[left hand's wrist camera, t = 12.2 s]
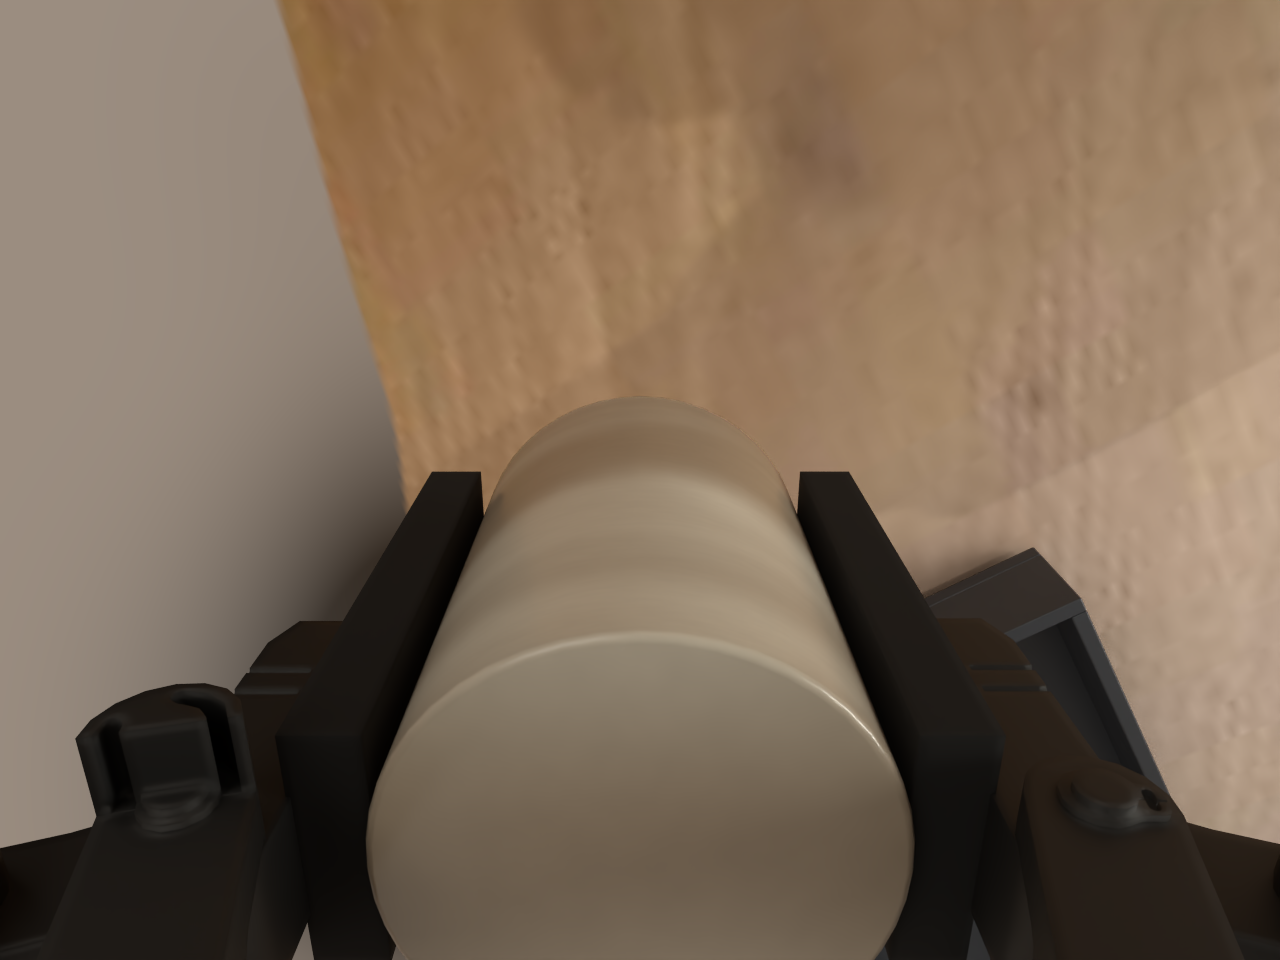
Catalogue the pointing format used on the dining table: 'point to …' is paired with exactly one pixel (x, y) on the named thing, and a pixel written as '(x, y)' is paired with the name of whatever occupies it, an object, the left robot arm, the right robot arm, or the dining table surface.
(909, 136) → the dining table surface
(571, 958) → the cylinder
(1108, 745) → the tray
